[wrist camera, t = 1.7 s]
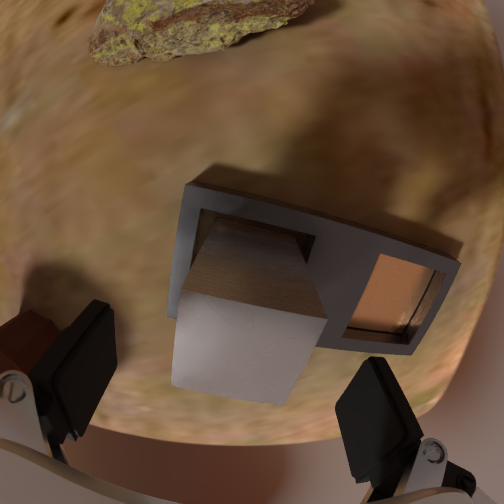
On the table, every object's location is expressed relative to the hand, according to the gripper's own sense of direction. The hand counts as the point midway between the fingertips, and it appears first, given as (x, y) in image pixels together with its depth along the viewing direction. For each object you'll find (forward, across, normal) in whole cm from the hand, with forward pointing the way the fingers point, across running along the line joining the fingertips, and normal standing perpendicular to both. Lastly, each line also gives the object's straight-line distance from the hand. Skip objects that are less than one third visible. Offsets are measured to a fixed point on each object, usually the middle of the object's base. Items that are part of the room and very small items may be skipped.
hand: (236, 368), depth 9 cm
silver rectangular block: (+8, 0, -1) cm, 8 cm away
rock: (+8, +7, -16) cm, 20 cm away
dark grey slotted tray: (+8, -5, -1) cm, 9 cm away
